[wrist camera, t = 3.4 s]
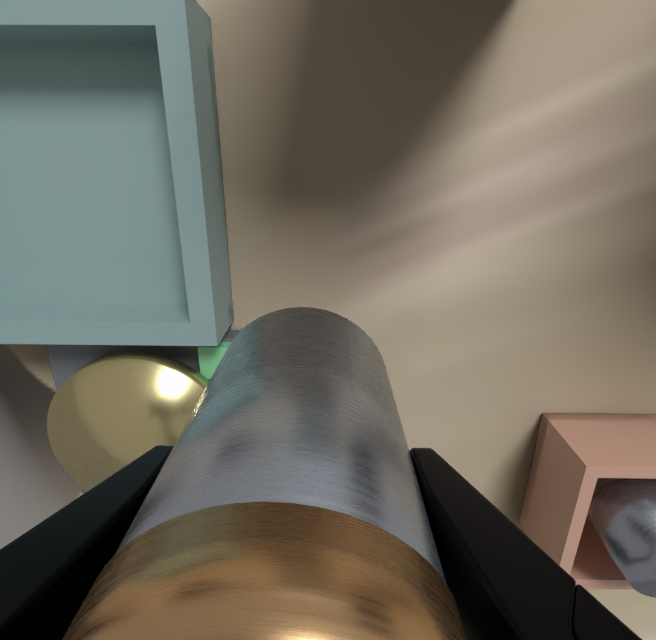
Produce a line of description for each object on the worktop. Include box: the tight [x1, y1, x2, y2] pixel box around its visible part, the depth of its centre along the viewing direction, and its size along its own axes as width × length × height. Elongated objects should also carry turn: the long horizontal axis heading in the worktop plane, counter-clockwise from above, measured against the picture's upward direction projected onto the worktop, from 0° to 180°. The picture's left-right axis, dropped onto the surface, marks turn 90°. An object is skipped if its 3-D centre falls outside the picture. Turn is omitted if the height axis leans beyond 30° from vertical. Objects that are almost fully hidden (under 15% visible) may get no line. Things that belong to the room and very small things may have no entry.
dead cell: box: [585, 478, 656, 597], centre depth 20 cm, size 4×4×6 cm
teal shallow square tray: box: [0, 0, 234, 346], centre depth 16 cm, size 12×12×3 cm
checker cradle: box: [45, 330, 241, 493], centre depth 21 cm, size 9×9×2 cm
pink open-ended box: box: [519, 413, 656, 589], centre depth 21 cm, size 7×7×4 cm
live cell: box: [62, 307, 467, 640], centre depth 7 cm, size 4×4×9 cm
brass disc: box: [47, 351, 209, 492], centre depth 20 cm, size 8×8×1 cm
